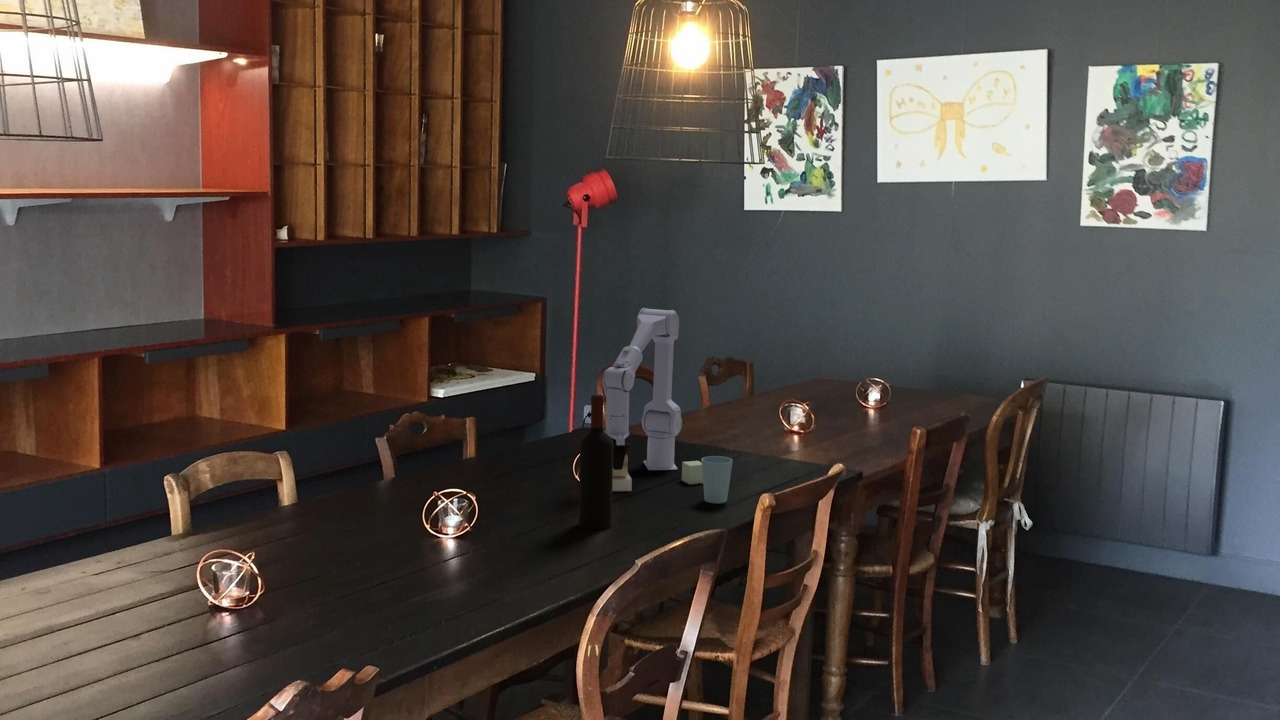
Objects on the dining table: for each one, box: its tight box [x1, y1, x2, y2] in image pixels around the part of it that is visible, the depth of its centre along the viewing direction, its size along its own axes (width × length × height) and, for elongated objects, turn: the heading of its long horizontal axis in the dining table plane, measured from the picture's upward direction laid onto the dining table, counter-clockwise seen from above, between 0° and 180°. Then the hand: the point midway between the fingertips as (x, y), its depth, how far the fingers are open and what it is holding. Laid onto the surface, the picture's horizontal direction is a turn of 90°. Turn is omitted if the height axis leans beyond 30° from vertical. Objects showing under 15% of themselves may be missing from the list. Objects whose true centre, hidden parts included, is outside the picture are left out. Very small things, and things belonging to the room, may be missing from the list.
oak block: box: [613, 453, 629, 476], centre depth 313 cm, size 4×4×5 cm
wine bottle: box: [578, 394, 613, 531], centre depth 278 cm, size 8×8×30 cm
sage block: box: [681, 460, 703, 485], centre depth 322 cm, size 4×4×5 cm
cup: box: [700, 455, 734, 504], centre depth 303 cm, size 8×8×10 cm
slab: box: [612, 472, 633, 492], centre depth 314 cm, size 7×7×3 cm
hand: (616, 467), depth 313 cm, fingers closed on oak block, 4 cm apart
